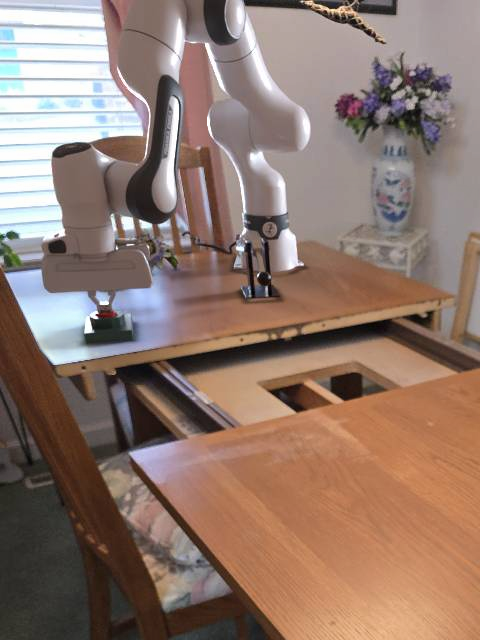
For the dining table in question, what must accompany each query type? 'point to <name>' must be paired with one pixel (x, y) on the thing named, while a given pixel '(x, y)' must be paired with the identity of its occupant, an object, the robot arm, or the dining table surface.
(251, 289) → the black two-post stand
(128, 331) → the button block
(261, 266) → the lever
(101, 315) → the button
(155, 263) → the passion flower
